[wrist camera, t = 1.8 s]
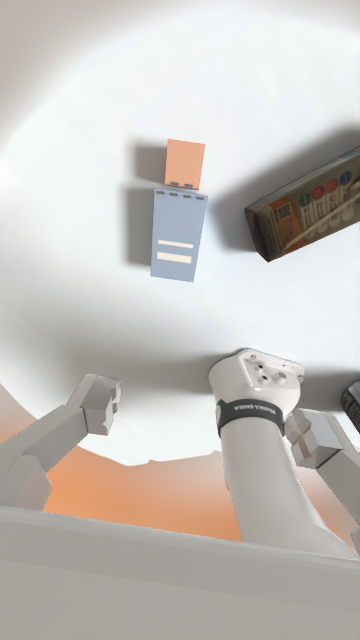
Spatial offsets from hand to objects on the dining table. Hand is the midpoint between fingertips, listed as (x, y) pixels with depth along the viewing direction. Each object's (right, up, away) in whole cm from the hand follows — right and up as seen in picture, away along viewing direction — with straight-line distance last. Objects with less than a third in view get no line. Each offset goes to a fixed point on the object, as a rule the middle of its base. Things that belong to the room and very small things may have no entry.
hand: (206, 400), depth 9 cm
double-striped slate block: (-1, +18, +24) cm, 30 cm away
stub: (0, +25, +19) cm, 32 cm away
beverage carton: (+19, +22, +21) cm, 35 cm away
